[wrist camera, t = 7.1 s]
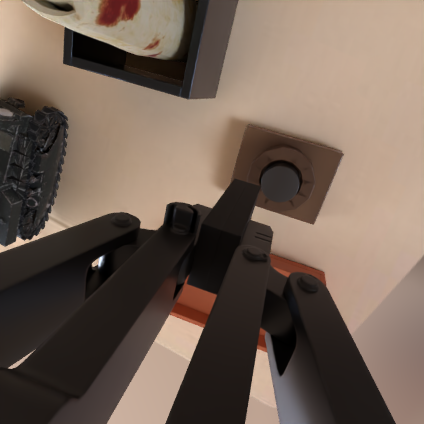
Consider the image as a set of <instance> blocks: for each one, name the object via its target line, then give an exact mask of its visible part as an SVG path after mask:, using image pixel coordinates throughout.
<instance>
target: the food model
mask: <svg viewBox="0 0 424 424" xmlns="http://www.w3.org/2000/svg"><path fill="white" fill-rule="evenodd" d="M22 1H23V2H24V3H25V4H26V5H27V6H28V7H29V8H31V9H32V10H33V11H35V12H36V13H38V14H39V15H41V16H42V17H44V18H46V19H48V20H51V21H53V22H55V23H58V24H60V25H62V26H64V27H67V28H69V29H71V30H73V31H76V32H78V33H81V34H84V35H86V36H89V37H92V38H95V39H97V40H100V41H103V42H105V43H108V44H111V45H113V46H115V47H117V48H120V49H122V50H125V51H127V52H130V53H133V54H135V55H140V56H147V57H152V58H157V59H163V60H169V61H178V62H184V63H187V59H188V54H189V48H190V43H191V38H192V33H193V27H194V22H195V17H196V12H197V3H196V1H195V0H22Z"/></svg>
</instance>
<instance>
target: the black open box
mask: <svg viewBox="0 0 424 424" xmlns="http://www.w3.org/2000/svg"><path fill="white" fill-rule="evenodd" d="M237 3H238V0H199V1H198V6H197V12H196V17H195V22H194V27H193V33H192V38H191V43H190V48H189V54H188V59H187V64H186V69H185V75H184V80H183V81H181V80H177V79H173V78H170V77H166V76H162V75H159V74H155V73H152V72H148V71H144V70H141V69H137V68H134V67H130V66H126V65H125V59H126V51H125V50H122V49H120V48H117V47H115V46H113V45H111V44H108V43H105V42H103V41H100V40H97V39H95V38H92V37H89V36H86V35H84V34H81V33H78V32H76V31H73V30H71V29H69V28H67V27H65V30H64V54H63V64H66V65H69V66H73V67H77V68H80V69H84V70H87V71H91V72H94V73H98V74H101V75H105V76H108V77H112V78H115V79H119V80H122V81H126V82H129V83H133V84H136V85H140V86H143V87H147V88H150V89H154V90H157V91H161V92H164V93H168V94H171V95H175V96H178V97H182V98H185V99H208V98H215V97H216V93H217V89H218V84H219V80H220V76H221V72H222V67H223V63H224V59H225V55H226V50H227V46H228V42H229V38H230V33H231V29H232V25H233V20H234V16H235V12H236V8H237Z"/></svg>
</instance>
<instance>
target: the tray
mask: <svg viewBox="0 0 424 424" xmlns="http://www.w3.org/2000/svg"><path fill="white" fill-rule="evenodd" d="M269 256H270V258H271V266H272V267H273V268H274V269H275V270H276V271H278V272H279V273H281V274H282V275H284V276H286V277H288V276H289V275H290V274H291V273H293V272H304V273H307V274H311V275H313V276H315V277H317V278H318V279H319V280H320V281H321V282H323V283H324V285H325V286H326V280H325V274H324V272H322V271H319V270H316V269H313V268H310V267H307V266H304V265H301V264H299V263H296V262H293V261H290V260H287V259H284V258H281V257H278V256H275V255H272V254H270V255H269ZM188 276H189V275H188ZM187 280H188V277H187V279H186V280H185V283H184V287H183V291H182V293H181V295H180V297H179V298H178V300H177V302H176V304H175V305H174V307H173V309H172V311H171V312H170V315H172V316H175V317H177V318H180V319H182V320H185V321H188V322H190V323H193V324H195V325H198V326H200V327H203V328H204V326H205V324H206V321H207V319H208V316H209V314H210V311H211V309H212V307H213V304H214V302H215V299H216V297H217V295H215V294H213V293H210V292H207V291H204V290H202V289H199V288H196V287H193V286H191V285H188V284H187ZM265 333H266V331H265V330H263V329H262V328H260V333H259V339H258V345H257V349H260V350H262V351H265V352H267V347H266V342H265Z"/></svg>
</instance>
